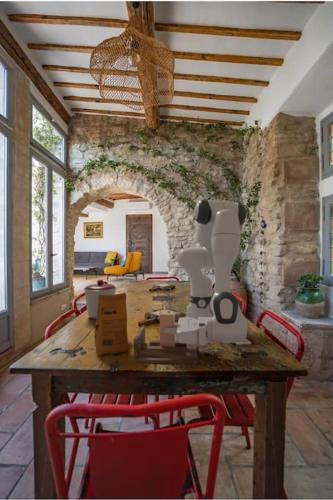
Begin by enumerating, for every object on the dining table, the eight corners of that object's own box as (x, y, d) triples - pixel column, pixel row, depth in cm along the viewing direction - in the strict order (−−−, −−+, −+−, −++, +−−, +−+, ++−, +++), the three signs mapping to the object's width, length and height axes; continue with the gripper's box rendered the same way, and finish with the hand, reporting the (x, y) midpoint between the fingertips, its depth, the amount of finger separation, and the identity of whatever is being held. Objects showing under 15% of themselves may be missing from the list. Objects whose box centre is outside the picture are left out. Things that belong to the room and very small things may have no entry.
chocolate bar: (237, 329, 132) (254, 342, 114) (237, 331, 132) (254, 345, 114) (219, 330, 130) (233, 343, 113) (218, 332, 130) (233, 346, 113)
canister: (120, 313, 165) (120, 277, 164) (111, 321, 147) (111, 281, 146) (90, 312, 166) (90, 277, 166) (78, 321, 148) (78, 281, 148)
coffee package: (94, 347, 111) (94, 292, 110) (125, 344, 114) (125, 290, 113) (94, 356, 101) (94, 296, 101) (128, 353, 104) (128, 294, 104)
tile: (160, 344, 105) (160, 313, 105) (175, 345, 104) (175, 313, 104) (159, 347, 102) (159, 314, 102) (174, 347, 102) (174, 314, 102)
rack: (142, 345, 112) (142, 325, 112) (196, 347, 110) (196, 326, 110) (133, 361, 97) (133, 339, 96) (197, 364, 95) (197, 340, 94)
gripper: (201, 313, 112) (167, 313, 114) (203, 328, 92) (162, 327, 93) (201, 329, 112) (167, 328, 114) (203, 347, 92) (162, 346, 93)
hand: (165, 328), depth 103 cm, fingers closed on tile, 2 cm apart
